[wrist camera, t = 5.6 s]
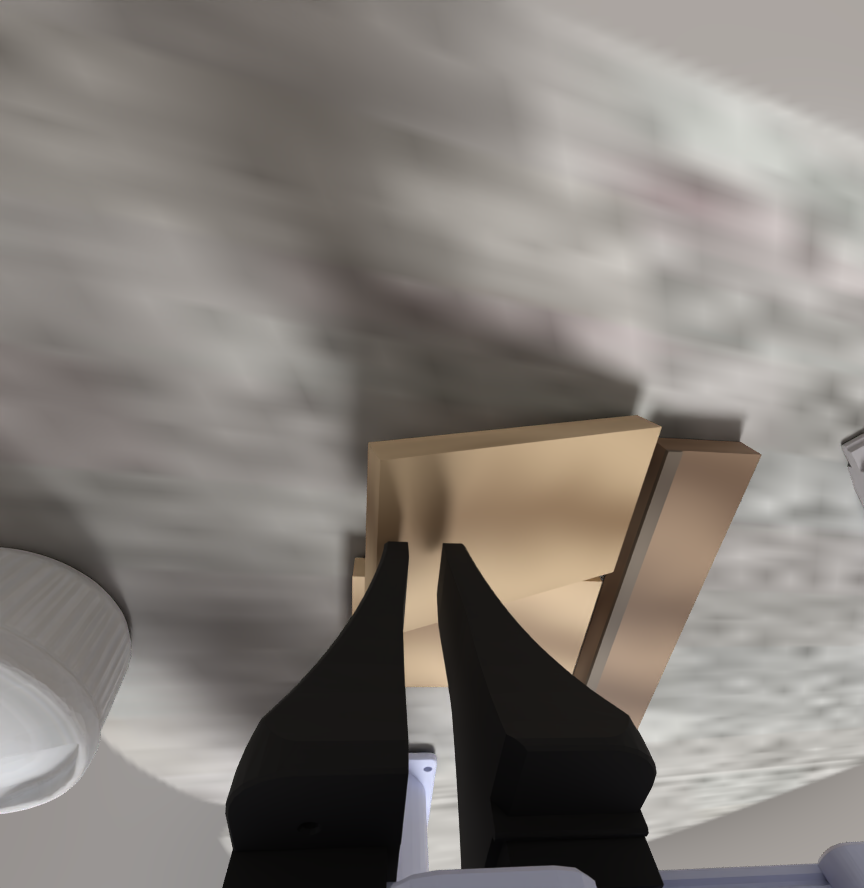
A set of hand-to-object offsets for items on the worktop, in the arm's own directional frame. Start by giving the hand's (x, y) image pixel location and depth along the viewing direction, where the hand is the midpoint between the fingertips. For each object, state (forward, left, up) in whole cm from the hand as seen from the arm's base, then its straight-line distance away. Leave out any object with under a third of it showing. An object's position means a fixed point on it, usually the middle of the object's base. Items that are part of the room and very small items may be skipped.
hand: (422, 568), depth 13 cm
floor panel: (-7, -11, -5) cm, 14 cm away
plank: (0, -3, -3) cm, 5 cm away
